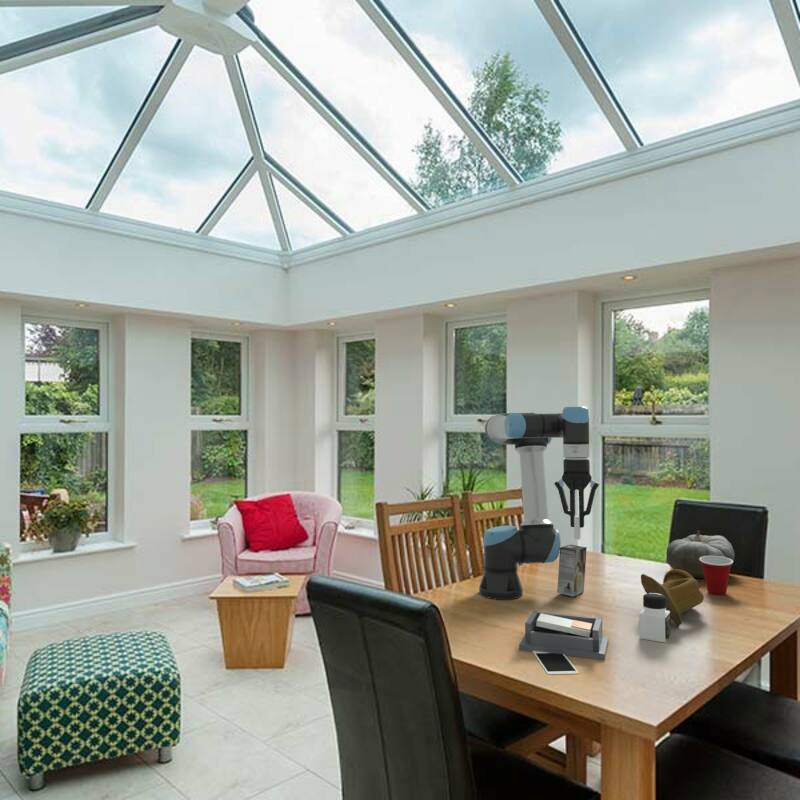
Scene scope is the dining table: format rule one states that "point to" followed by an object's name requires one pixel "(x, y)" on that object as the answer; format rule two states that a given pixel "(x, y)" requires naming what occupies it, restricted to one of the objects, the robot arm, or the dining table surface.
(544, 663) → the cell phone
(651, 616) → the medicine bottle
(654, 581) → the brown cowboy hat
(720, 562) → the plastic cup
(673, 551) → the gourd
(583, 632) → the rocker
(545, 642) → the box
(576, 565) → the coffee box
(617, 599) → the dining table surface
